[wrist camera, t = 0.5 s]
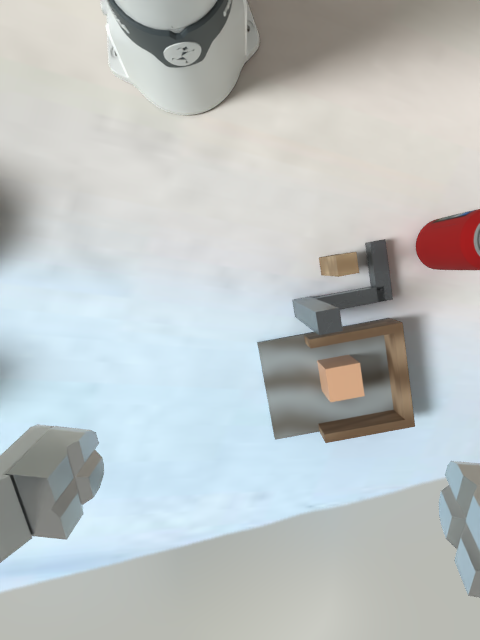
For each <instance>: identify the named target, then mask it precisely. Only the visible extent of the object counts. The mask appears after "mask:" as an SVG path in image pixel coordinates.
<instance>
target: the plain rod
mask: <svg viewBox="0 0 480 640" xmlns="http://www.w3.org/2000/svg"><path fill="white" fill-rule="evenodd" d="M319 261H320V268H321V275H325V276H338V277H339V276H344V275H350V274H355V273H359V268H358V261H357V253H356V252H352V253H344V254H336V255H331V256H326V257H320V258H319Z"/></svg>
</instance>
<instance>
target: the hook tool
mask: <svg viewBox="0 0 480 640" xmlns="http://www.w3.org/2000/svg"><path fill="white" fill-rule="evenodd" d="M365 245H366V253H367V260H368V268H369V276H370V283H371V287H367V288H361V289H356V290H350V291H345V292H340V293H334V294H329V295H324V296H318V297H313V298H312V297H305V298H300V299H294V300H292V301H293V307H294V313H295V317H296V318H297V319H299V320H300V321H301V322H303V323H304V324H305V325H306V326H308V327H309V328H310V329H312V330H313V331H314V332H316V333H317V334H318V335H323V334H329V333H334V332H340V331H343V330H342V324H341V317H340V310H339V309H344V308H349V307H354V306H360V305H365V304H370V303H376V302H381V301H387V300H392V299H393V298H392V290H391V282H390V274H389V265H388V257H387V249H386V241H385V239H384V240H379V241H374V242H368V243H365Z"/></svg>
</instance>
